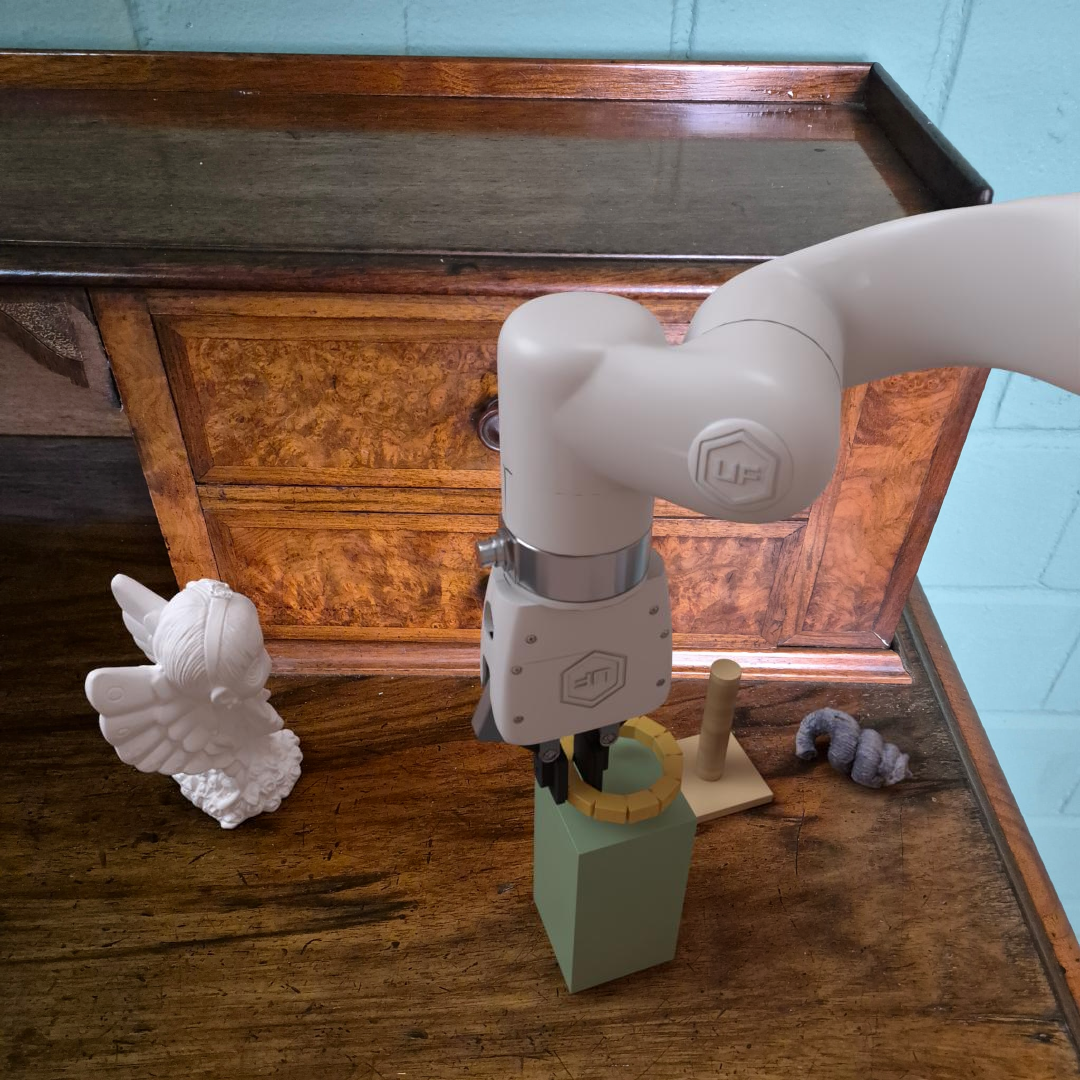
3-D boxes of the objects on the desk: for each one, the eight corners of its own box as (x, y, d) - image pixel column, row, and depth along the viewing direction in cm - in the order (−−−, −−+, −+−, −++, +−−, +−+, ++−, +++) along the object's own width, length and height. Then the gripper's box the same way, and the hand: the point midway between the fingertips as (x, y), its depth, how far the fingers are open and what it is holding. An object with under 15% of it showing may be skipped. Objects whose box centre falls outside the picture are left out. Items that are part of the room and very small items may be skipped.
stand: (674, 959, 69) (698, 819, 59) (570, 994, 66) (578, 854, 57) (629, 868, 75) (644, 727, 65) (533, 897, 72) (534, 757, 63)
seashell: (789, 755, 86) (900, 805, 82) (785, 748, 81) (903, 801, 77) (812, 701, 87) (922, 748, 83) (809, 691, 82) (927, 740, 78)
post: (771, 801, 80) (798, 691, 72) (686, 827, 78) (704, 716, 70) (726, 733, 86) (746, 625, 78) (645, 756, 84) (658, 647, 76)
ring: (703, 801, 58) (705, 788, 57) (582, 838, 56) (582, 825, 55) (648, 711, 64) (649, 698, 63) (536, 741, 62) (536, 728, 61)
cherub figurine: (299, 836, 77) (258, 654, 65) (138, 855, 75) (66, 673, 63) (305, 717, 87) (271, 541, 75) (164, 732, 85) (107, 555, 74)
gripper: (445, 622, 43) (465, 867, 54) (750, 553, 47) (711, 793, 58) (408, 532, 49) (432, 770, 60) (683, 477, 53) (659, 709, 64)
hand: (570, 780), depth 59 cm, fingers closed on ring, 1 cm apart
